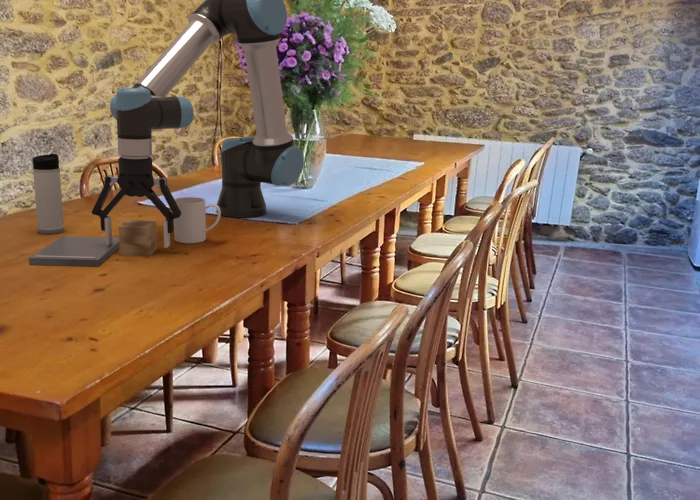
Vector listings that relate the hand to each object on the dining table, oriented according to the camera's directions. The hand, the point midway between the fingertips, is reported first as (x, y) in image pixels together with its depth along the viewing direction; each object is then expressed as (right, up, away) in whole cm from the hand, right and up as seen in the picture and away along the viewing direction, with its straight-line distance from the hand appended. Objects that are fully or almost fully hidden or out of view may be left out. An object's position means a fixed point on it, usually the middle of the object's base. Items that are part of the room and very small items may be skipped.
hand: (138, 245), depth 164 cm
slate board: (-13, -2, -3) cm, 13 cm away
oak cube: (0, -2, +1) cm, 2 cm away
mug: (+12, +1, +13) cm, 17 cm away
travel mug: (-28, +4, +16) cm, 32 cm away
